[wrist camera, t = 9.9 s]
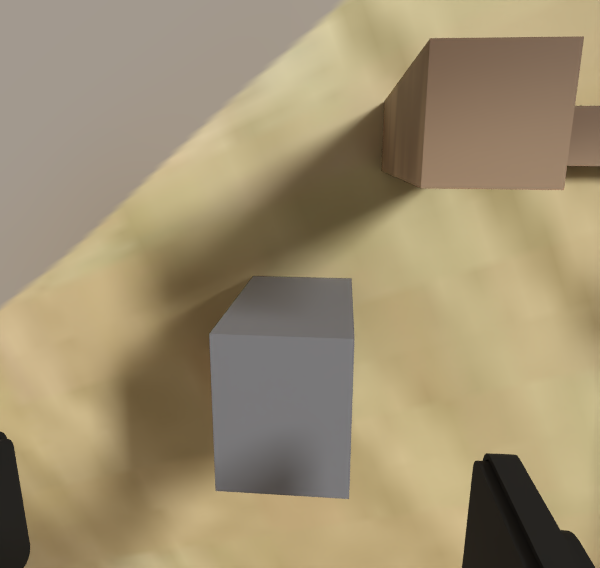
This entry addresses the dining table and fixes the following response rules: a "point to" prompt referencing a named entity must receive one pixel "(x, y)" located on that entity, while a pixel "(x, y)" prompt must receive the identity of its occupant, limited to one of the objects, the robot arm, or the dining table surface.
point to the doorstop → (284, 388)
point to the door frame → (490, 115)
